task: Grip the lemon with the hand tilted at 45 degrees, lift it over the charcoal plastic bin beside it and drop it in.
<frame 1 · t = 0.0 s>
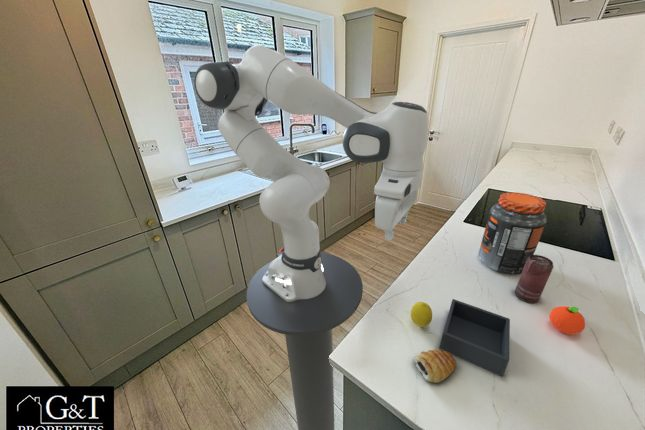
hand: (395, 230, 66), 27 cm above the worktop, tool pointing down, fingers open, 8 cm apart
dark red glass cylinder: (525, 297, 81), on the worktop
clementine: (562, 328, 71), on the worktop
bin: (472, 340, 68), on the worktop
lemon: (419, 325, 73), on the worktop
pastry: (433, 368, 62), on the worktop
supplement tub: (501, 263, 97), on the worktop
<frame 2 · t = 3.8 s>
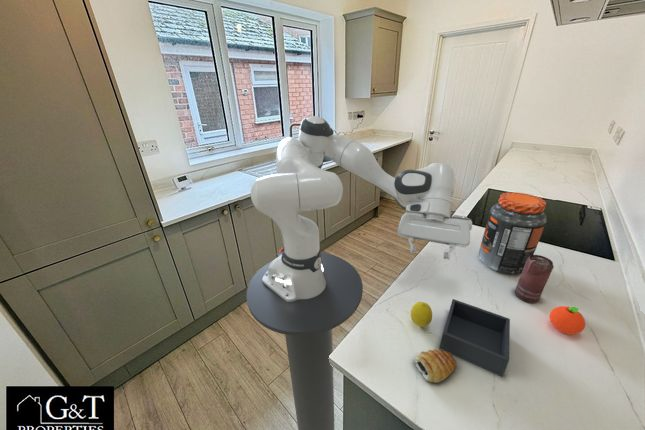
hand: (429, 255, 78), 15 cm above the worktop, tool tilted 45°, fingers open, 8 cm apart
nothing on the worktop moved.
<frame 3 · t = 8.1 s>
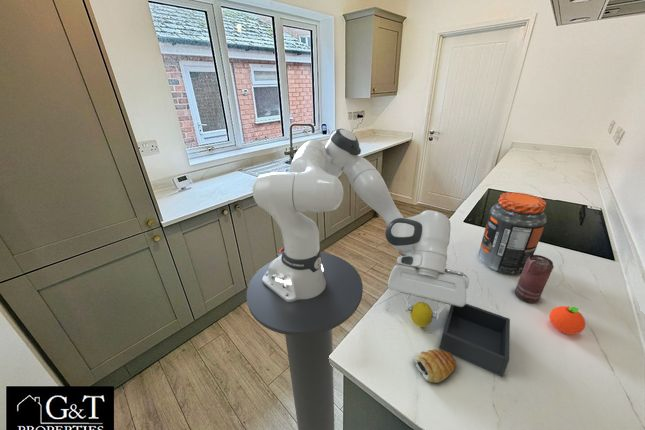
hand: (421, 315, 71), 4 cm above the worktop, tool tilted 45°, fingers closed on lemon, 5 cm apart
lemon: (419, 325, 73), on the worktop, touching gripper
everything else where it was.
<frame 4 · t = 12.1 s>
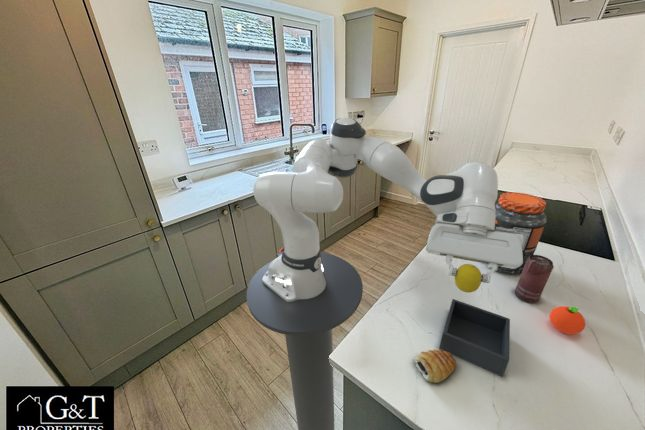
hand: (468, 278, 61), 19 cm above the worktop, tool tilted 45°, fingers closed on lemon, 5 cm apart
lemon: (464, 292, 64), point 15 cm above the worktop, touching gripper
everything else where it was.
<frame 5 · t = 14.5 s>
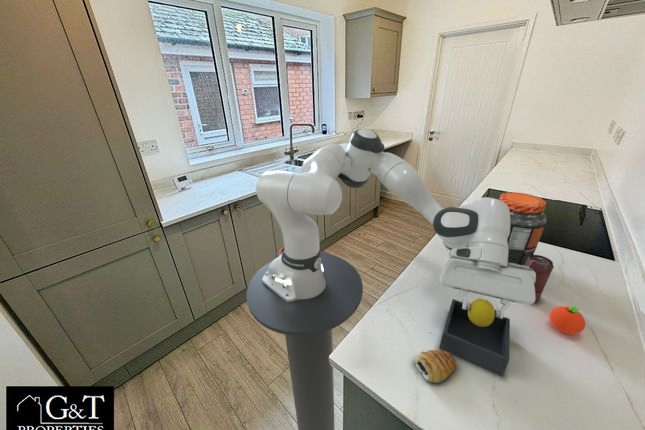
hand: (481, 313, 63), 10 cm above the worktop, tool tilted 45°, fingers closed on lemon, 5 cm apart
lemon: (477, 325, 66), point 6 cm above the worktop, touching gripper
everything else where it was.
when the fingers open (5 cm above the worktop, at t = 16.5 s): lemon stays where it is, resting on bin.
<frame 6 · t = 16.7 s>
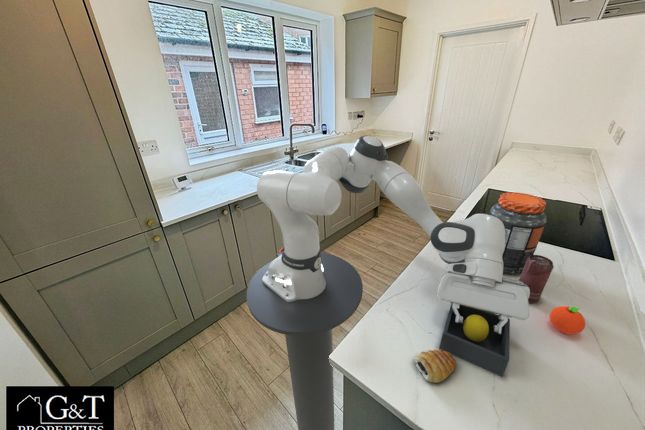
hand: (477, 328, 65), 5 cm above the worktop, tool tilted 45°, fingers open, 7 cm apart
lemon: (472, 339, 68), resting on bin
everything else where it was.
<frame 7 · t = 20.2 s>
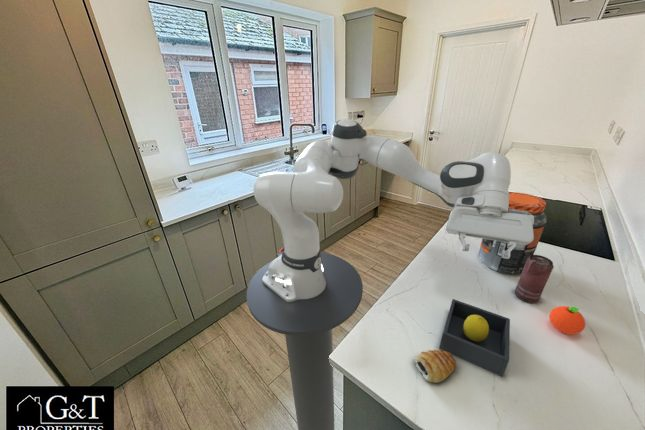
hand: (484, 254, 70), 19 cm above the worktop, tool tilted 45°, fingers open, 8 cm apart
nothing on the worktop moved.
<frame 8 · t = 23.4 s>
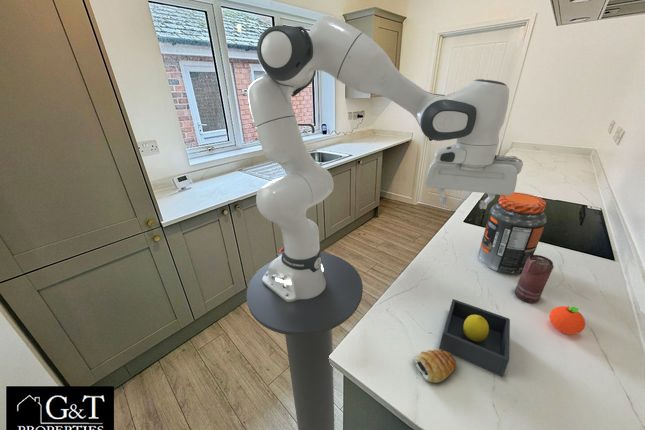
hand: (462, 205, 70), 31 cm above the worktop, tool pointing down, fingers open, 8 cm apart
nothing on the worktop moved.
at the end: lemon inside the target area in the bin (0.1 cm from its centre), point 0.4 cm above the bin's base; the gripper is holding nothing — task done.
